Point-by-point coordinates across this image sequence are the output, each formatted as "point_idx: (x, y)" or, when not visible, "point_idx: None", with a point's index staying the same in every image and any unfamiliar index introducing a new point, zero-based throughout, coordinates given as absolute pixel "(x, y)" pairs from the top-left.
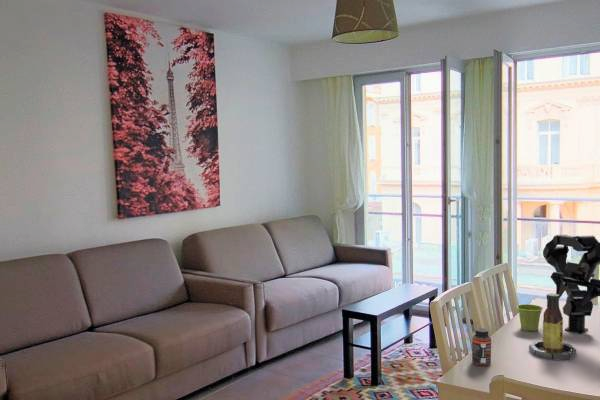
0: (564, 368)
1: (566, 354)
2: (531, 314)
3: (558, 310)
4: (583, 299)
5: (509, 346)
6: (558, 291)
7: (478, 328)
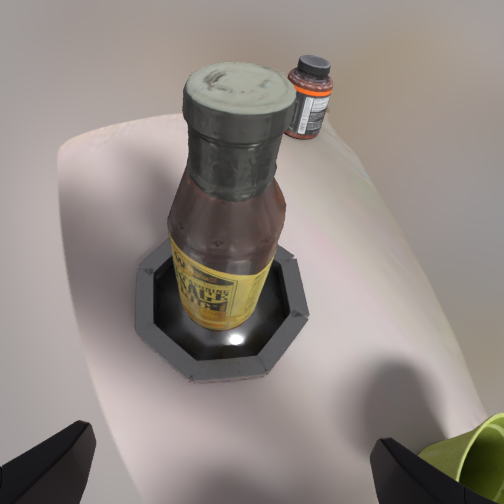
0: (132, 207)
1: (146, 258)
2: (459, 446)
3: (184, 173)
4: (48, 447)
5: (351, 256)
6: (428, 486)
7: (328, 63)
